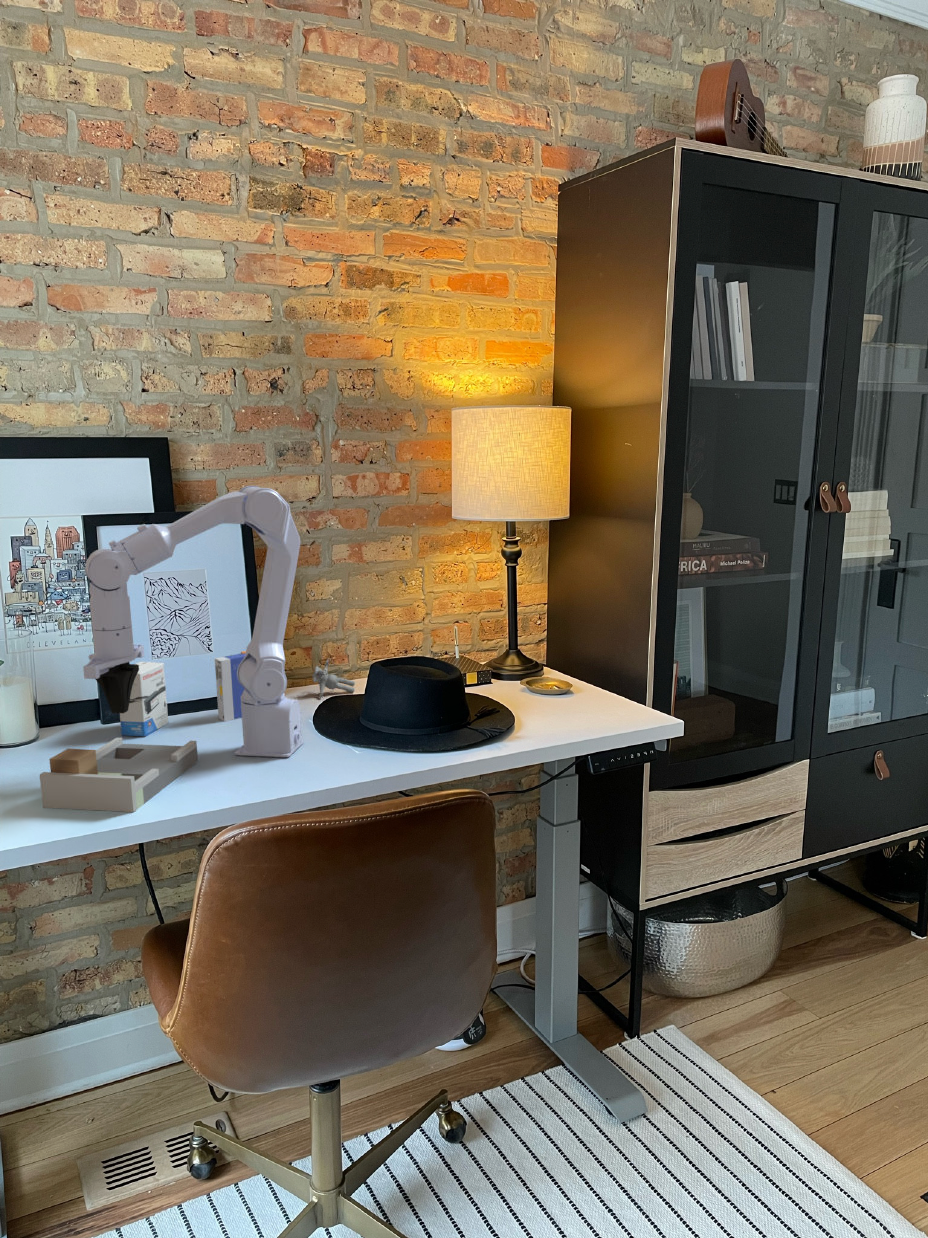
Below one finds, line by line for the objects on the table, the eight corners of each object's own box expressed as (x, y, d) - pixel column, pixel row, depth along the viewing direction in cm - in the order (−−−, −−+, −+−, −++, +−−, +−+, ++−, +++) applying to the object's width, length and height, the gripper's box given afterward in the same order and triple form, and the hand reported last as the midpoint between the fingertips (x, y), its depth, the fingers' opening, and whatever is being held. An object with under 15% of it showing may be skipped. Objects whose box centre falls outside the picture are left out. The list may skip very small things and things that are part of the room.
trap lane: (197, 761, 151) (195, 732, 150) (133, 812, 131) (130, 778, 130) (118, 757, 153) (115, 729, 152) (43, 807, 133) (39, 774, 132)
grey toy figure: (355, 700, 186) (312, 688, 183) (346, 715, 190) (304, 703, 187) (361, 661, 192) (320, 648, 189) (352, 676, 196) (311, 664, 194)
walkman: (253, 709, 179) (250, 649, 177) (261, 712, 177) (257, 652, 175) (217, 718, 174) (212, 656, 172) (224, 721, 172) (220, 659, 170)
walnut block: (98, 778, 137) (95, 750, 136) (81, 790, 133) (78, 760, 132) (70, 777, 138) (67, 748, 137) (52, 788, 133) (49, 759, 132)
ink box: (145, 737, 164) (139, 673, 161) (120, 736, 165) (114, 672, 162) (169, 723, 172) (165, 661, 170) (145, 721, 173) (140, 660, 171)
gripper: (112, 617, 150) (119, 698, 152) (61, 636, 136) (70, 725, 138) (153, 618, 149) (159, 699, 151) (105, 637, 135) (113, 726, 137)
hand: (119, 712), depth 145 cm, fingers closed
